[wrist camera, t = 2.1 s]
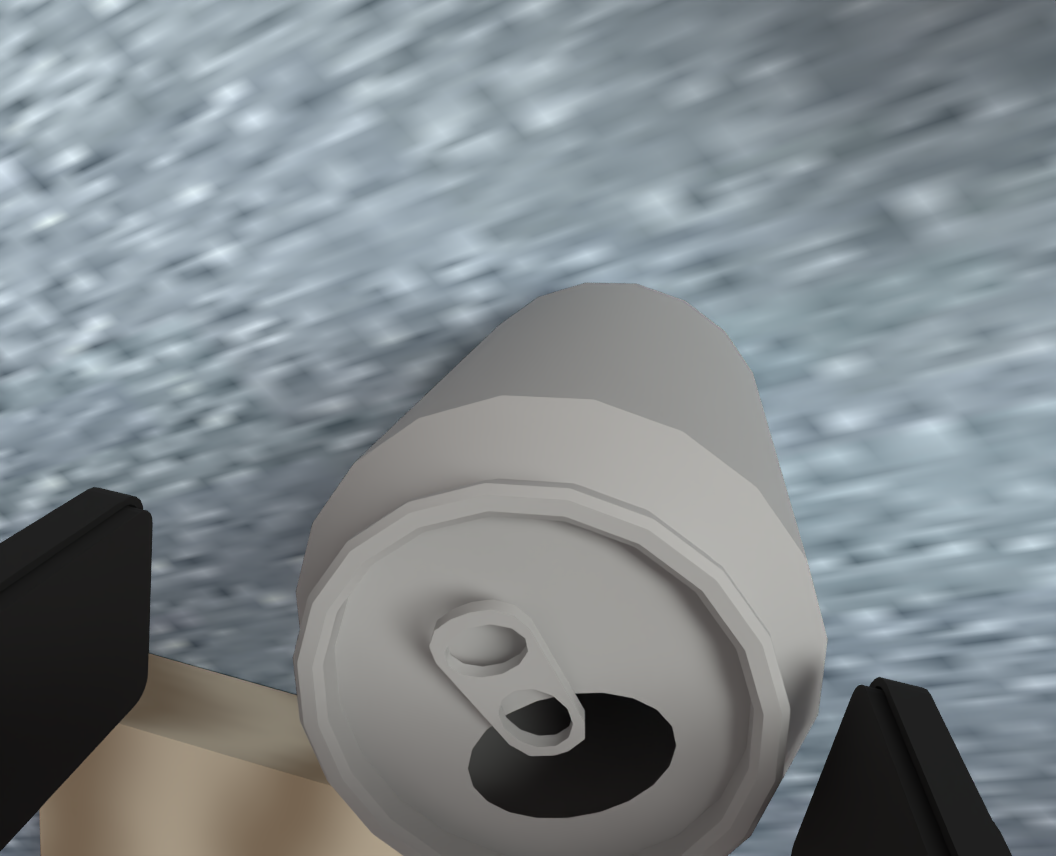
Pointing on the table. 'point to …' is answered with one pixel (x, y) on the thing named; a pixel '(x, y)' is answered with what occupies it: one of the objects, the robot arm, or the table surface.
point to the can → (565, 597)
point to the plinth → (204, 779)
